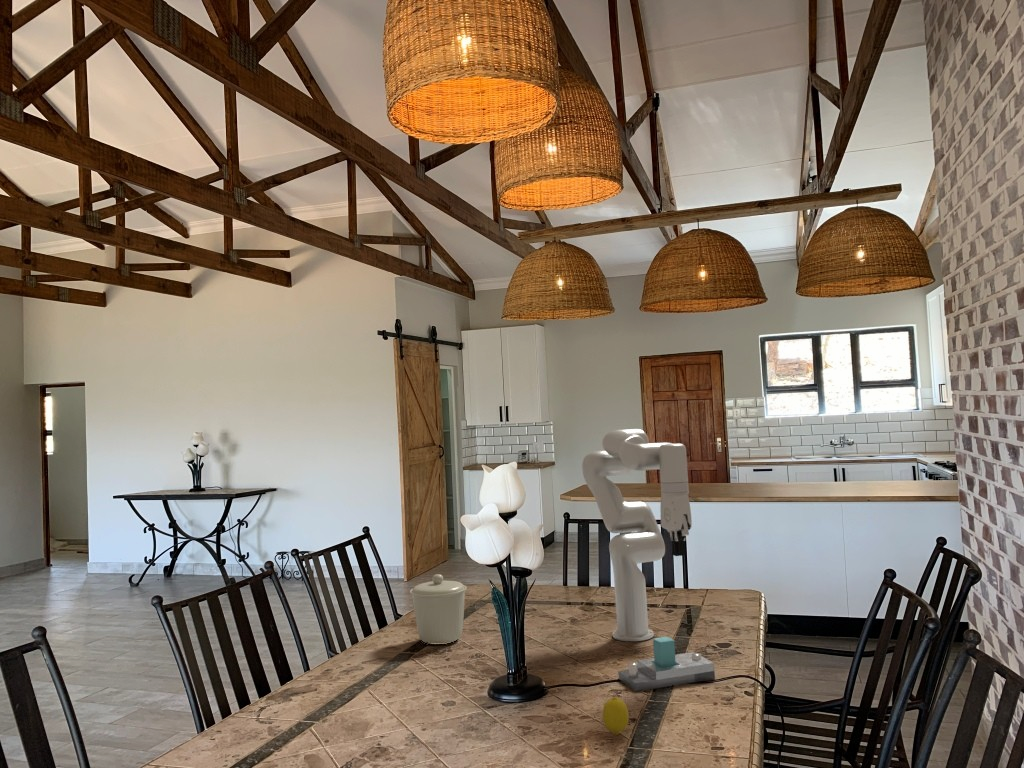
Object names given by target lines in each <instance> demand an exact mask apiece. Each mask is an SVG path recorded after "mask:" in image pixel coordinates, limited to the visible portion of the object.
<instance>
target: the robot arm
mask: <svg viewBox="0 0 1024 768" xmlns="http://www.w3.org/2000/svg"><path fill="white" fill-rule="evenodd" d="M602 448H603V449H601V450H596V451H591V452H589V453H587V454H586V455H584V457H583V459H582V464H581V465H582V466H581V469H582V476H583V479H584V481H585V483H586V485H587V487H588V489H589V490H590V493H592V495H593V497H594V499H595V500H596V504H597V508H598V509H599V512H600V515H601V517H602V520H603V523H604V526H605V528H606V529H607V531H608V532H609V533H612V534H616V535H615V536H613V537H612V538H611V539H610V541H609V545H608V549H609V555H610V560H611V565H612V570H613V581H614V583H613V584H614V597H615V610H616V611H615V612H616V625H617V626H616V629H615V630H613V631H612V637H613V639H615V640H618V641H621V642H622V641H624V642H642V641H647V640H650V639H652V638H653V637H654V636H655V633H654V631H653V630H652V629H651V628H649V619H648V618H649V617H648V602H647V588H646V585H647V584H646V577H645V575H644V573H643V572H642V571H641V569H640V567H638V564H643V563H651V562H657V561H660V560H661V559H662V558H664V556H665V554H666V544H665V541H664V538H663V535H662V533H661V530H660V528H659V525H658V522H657V520H656V517H655V515H654V513H653V511H652V508H651V507H650V505H648V504H647V503H646V502H644V501H640V500H638V501H637V500H635V501H626V500H625V499H624V497H623V495H622V492H621V490H620V488H619V487H618V486H617V484H615V483H614V482H613V481H611V480H610V479H609V478H607V477H613V476H625V475H626V476H627V475H630V474H633V473H634V472H635V471H642V472H643V471H652V470H659V476H660V477H659V478H660V494H661V496H660V507H659V508H660V526H661V527H662V529H665V530H666V531H667V533H668V534H669V535H670V536H669V537H670V541H671V552H672V553H671V555H672V556H675V557H681V556H686V537H687V536H689V535H690V530H691V529H692V527H693V526H692V525H693V523H692V512H691V511H692V510H691V503H690V498H689V494H690V488H689V476H688V474H689V473H688V472H689V471H688V458H687V448H686V445H684V443H672V442H665V441H664V442H652V443H651V442H650V441H649V437H648V435H647V433H646V432H645V431H644V430H642V429H640V428H629V429H628V428H627V429H626V428H625V429H615V430H611V431H609V432H607V433H606V434H605V435H604V436H603V438H602Z"/></svg>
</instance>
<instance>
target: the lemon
mask: <svg viewBox="0 0 1024 768" xmlns="http://www.w3.org/2000/svg"><path fill="white" fill-rule="evenodd" d="M629 716H630V715H629V710H628V707H627V705H626V703H625V702H624V701H623V700H622V699H621V698H617V696H613V697H612V698H609V699H608V700H606V702H605V703H604V706H603V709H602V721H603V725H604V727H605V728H606V729H607V731H609V732H610V733H611V732H612V733H613V734H614V735H615V736H618V735H619V734H620V733H622V732H623V731H625V730H626V728H627V727H628V725H629V718H630V717H629Z"/></svg>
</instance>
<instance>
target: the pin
mask: <svg viewBox="0 0 1024 768" xmlns="http://www.w3.org/2000/svg"><path fill="white" fill-rule="evenodd" d="M652 643H653V644H652V645H653V658H654V662H655V665H657V666H659V667H660V668H661V667H668V666H675V665H676V661H675V655H676V650H675V649H676V646H675V640H674V639H673V638H670V637H668V636H662V637H655V638H653V639H652Z"/></svg>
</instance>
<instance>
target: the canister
mask: <svg viewBox="0 0 1024 768" xmlns="http://www.w3.org/2000/svg"><path fill="white" fill-rule="evenodd" d="M431 580H432V581H427V582H422V583H419V584H416V585H415V586H414V587H413V588H411V589H410V590H409V593H410V595H411V597H412V604H413V610H414V616H415V622H416V623H415V624H416V627H417V632H418V633H417V634H418V637H419V640H420V639H421V640H422V641H424V642H428V643H447V642H452V641H455V640H457V639H459V638H460V639H461V637H462V634H463V627H464V617H465V615H464V614H465V613H464V612H465V596H466V595H465V594H466V593H465V592H466V591H467V589H468V588H467V585H465V584H463V583H462V582H460V581H456V580H444V576H443V575H442V574H439V573H436V574H434V575H433V576H432V577H431ZM460 639H459V640H460ZM421 640H420V641H421ZM422 641H421V642H422ZM457 641H458V640H457Z"/></svg>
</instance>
